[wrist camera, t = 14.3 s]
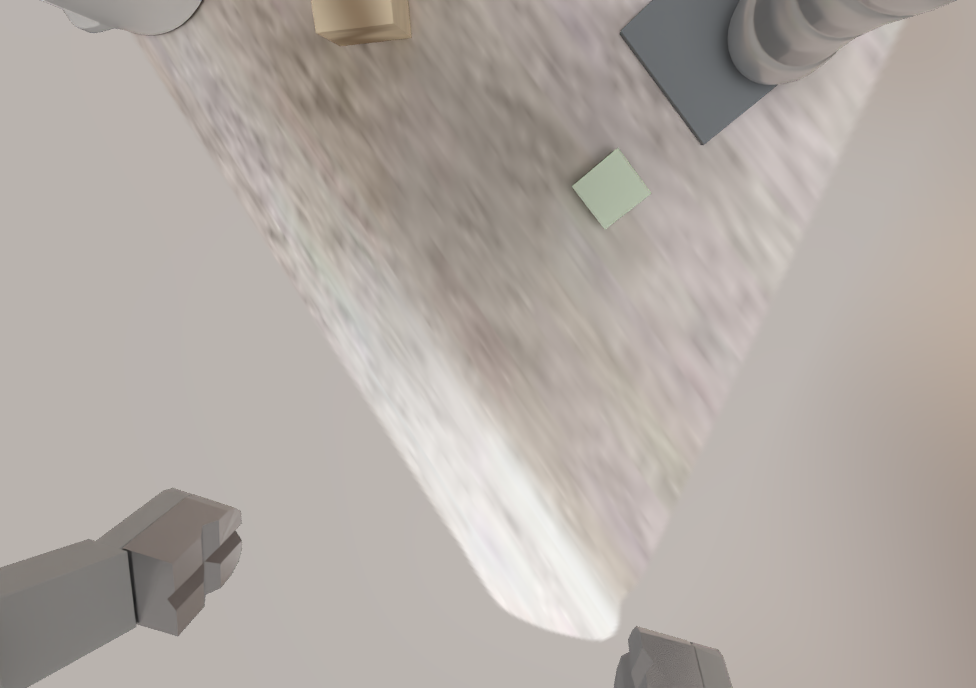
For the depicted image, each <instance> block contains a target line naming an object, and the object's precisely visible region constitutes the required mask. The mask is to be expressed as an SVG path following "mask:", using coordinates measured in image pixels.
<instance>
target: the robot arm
mask: <svg viewBox="0 0 976 688" xmlns="http://www.w3.org/2000/svg"><path fill="white" fill-rule="evenodd" d="M41 1H43V2H46V3H48V4H50V5H53V6H55V7H58V8H61V9H62V10H63V11H64V13H65V14H66V16H67V17H68V18H69V20H70V21H71V22H72V23H73V25H75V26H76V27H78V28H80V29H82V30H85V31H87V32H90V33H97V32H103V31H106V30H110V29H113V28H116V29H122V30H126V31H129V32H133V33H137V34H142V35H157V34H162V33H166V32H169V31H171V30H173V29H175V28H177V27H179V26H180V25H181V24H183V23H184V22H185V21H186V20H187V19H188V18H189V17H190V16H191V15H192V14H193V13H194V12H195V10H196V9H197V7H198V6H199V4H200V2H201V1H202V0H41ZM240 524H242V520H241V511H240V510H238V509H236V508H234V507H231V506H228V505H225V504H221V503H219V502H216V501H213V500H209V499H206V498H203V497H200V496H197V495H193V494H190V493H187V492H184V491H181V490H178V489H174V488H171V489H168V490H164V491H163V492H161V493H159V494H158V495H157V496H155V497H154V498H153V499H151V500H150V501H149V502H147V503H146V504H145V505H144V506H142V507H141V508H139V509H138V510H137V511H135V512H134V513H133V514H131V515H130V516H129V517H127V518H126V519H125V520H123V521H122V522H121V523H119V524H118V525H117V526H115V527H114V528H113V529H111V530H110V531H108V532H107V533H106V534H104V535H103V536H102V537H101V538H99V539H98V540H96V541H94V540H90V539H87V540H84V541H82V542H78V543H75V544H72V545H69V546H66V547H63V548H60V549H56V550H53V551H50V552H47V553H44V554H41V555H38V556H35V557H32V558H29V559H26V560H22V561H19V562H16V563H13V564H10V565H7V566H4V567H1V568H0V688H27V687H29V686H31V685H32V684H34V683H36V682H38V681H39V680H41V679H43V678H45V677H47V676H49V675H51V674H52V673H54V672H56V671H58V670H60V669H61V668H63V667H65V666H67V665H69V664H70V663H72V662H74V661H76V660H78V659H79V658H81V657H83V656H85V655H87V654H88V653H90V652H92V651H94V650H96V649H97V648H99V647H101V646H103V645H104V644H106V643H108V642H110V641H112V640H114V639H115V638H117V637H119V636H121V635H123V634H124V633H126V632H128V631H130V630H131V629H133V628H135V627H136V624H138V625H141V626H145V627H148V628H151V629H155V630H158V631H162V632H165V633H169V634H172V635H175V636H179V635H180V633H181V632H182V631H183V630H184V629H185V628H186V627H187V626H188V625H189V623H190V622H191V621H192V620H193V619H194V617H196V615H197V614H198V613H199V612H200V611H201V610H202V609H203V608H204V605H205V595H206V594H208V593H211V592H213V591H215V590H217V589H219V588H221V587H222V586H223V585H224V583H225V582H226V581H227V580H228V579H229V577H230V576H231V575H232V573H233V571H234V569H235V567H236V566H237V564H238V562H239V558H240V555H241V551H242V540H241V538H240V537H239V535H238V534H237V532H236V531H235V530H236V529H237V528H238V527H239V526H240ZM628 643H629V652H628V653H626V654H624V655H623V656H621V659H620V662H619V665H618V667H617V671H616V677H615V683H614V688H733V687H732V684H731V681H730V677H729V674H728V671H727V668H726V664H725V661H724V658H723V655H722V654H721V652H720V651H719V650H717V649H714V648H710V647H707V646H703V645H700V644H696V643H693V642H688V641H687V640H683V639H680V638H676V637H673V636H669V635H666V634H662V633H658V632H655V631H652V630H648V629H645V628H641V627H638V626H636V627H635V628H634V629H633V630H632V632H631V635H630V637H629V639H628Z"/></svg>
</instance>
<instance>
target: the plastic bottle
mask: <svg viewBox="0 0 976 688" xmlns="http://www.w3.org/2000/svg"><path fill="white" fill-rule="evenodd" d="M954 1H956V0H740V1H739V3H738V5H737V7H736V9H735V11H734V13H733V15H732V18H731V21H730V25H729V29H728V49H729V53H730V56H731V59H732V61H733V63H734V65H735V67H736V68H737V69H738V70H739V71H740V73H741V74H742V75H744V76H745V77H746V78H748V79H749V80H751V81H754V82H756V83H759V84H765V85H777V84H785V83H790V82H794V81H797V80H800V79H802V78H804V77H806V76H808V75H809V74H811V73H812V72H814V71H815V70H817V69H818V68H819V67H821V66H822V65H823V64H824V63H826V62H827V61H828V60H829V59H830V58H831V57H832V56H833V55H834V54H835V53H836V52H837V51H838V50H839V49H840V48H842V47H843V46H845V45H846V44H848V43H849V42H850V41H852V40H853V39H855V38H856V37H858V36H860V35H863V34H865V33H867V32H869V31H872V30H874V29H876V28H878V27H881V26H883V25H885V24H889V23H892V22H895V21H899V20H902V19H905V18H909V17H912V16H915V15H918V14H922V13H925V12H929V11H932V10H935V9H937V8H939V7H942V6H944V5H947V4H949V3H952V2H954Z"/></svg>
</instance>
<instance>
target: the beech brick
mask: <svg viewBox="0 0 976 688" xmlns="http://www.w3.org/2000/svg"><path fill="white" fill-rule="evenodd" d="M311 4H312V10H313V17H314V24H315V31H316V33H317V34H318V35H320V36H322V37H324V38H326V39H328V40H330V41H332V42H333V43H335V44H337V45H339V46H347V45H355V44H364V43H372V42H381V41H389V40H398V39H406V38H412V37H411V26H410V15H409V4H408V0H311Z"/></svg>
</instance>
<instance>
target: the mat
mask: <svg viewBox="0 0 976 688" xmlns="http://www.w3.org/2000/svg"><path fill="white" fill-rule="evenodd" d="M739 1H740V0H652V1H651V2H650V3H649V4H648V5H647V6H646V7H645V8H644V9H643V10H642V11H641V12H640V13H639V14H638V15H637V16H636V17H635V18H634V19H633V20H631V21H630V22H629V23H628V24H627V25H626V26H625V27H624V28H623V29H622V30H621V32H620V35H621V36H622V38H623V39H624V40H625V42H626V43H627V44H628V46H629V47H630V48H631V50H632V51H633V52H634V54H635V55H636V57H637V58H638V59H639V61H640V62H641V63H642V65H643V66H644V67H645V69H646V70H647V71H648V73H649V74H650V76H651V77H652V78H653V80H654V81H655V82H656V84H657V85H658V86H659V88H660V89H661V90H662V92H663V93H664V95H665V96H666V97H667V99H668V100H669V101H670V103H671V104H672V105H673V107H674V108H675V109H676V111H677V112H678V114H679V115H680V116H681V118H682V119H683V120H684V122H685V123H686V124H687V126H688V127H689V128H690V130H691V131H692V133H693V134H694V135H695V137H696V138H697V139H698V141H699V142H700V143H701V145H704V144H705V143H707V142H708V141H709V140H710V139H711V138H713V137H714V136H715V135H716V134H718V133H719V132H720V131H721V130H723V129H724V128H725V127H726V126H727V125H729V124H730V123H731V122H732V121H734V120H735V119H736V118H737V117H739V116H740V115H741V114H742V113H744V112H745V111H746V110H747V109H748V108H750V107H751V106H752V105H753V104H755V103H756V102H757V101H758V100H760V99H761V98H762V97H763V96H764V95H766V94H767V93H768V92H769V91H771V90H772V89H773V88H774V87H776V86H777V85H778V84H777V85H765V84H759V83H756V82H754V81H751V80H749V79H748V78H746V77H745V76H744V75H742V74H741V73H740V71H739V70H738V69H737V68H736V67H735V65H734V63H733V61H732V59H731V56H730V53H729V49H728V29H729V25H730V21H731V18H732V15H733V13H734V11H735V9H736V7H737V5H738V3H739Z"/></svg>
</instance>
